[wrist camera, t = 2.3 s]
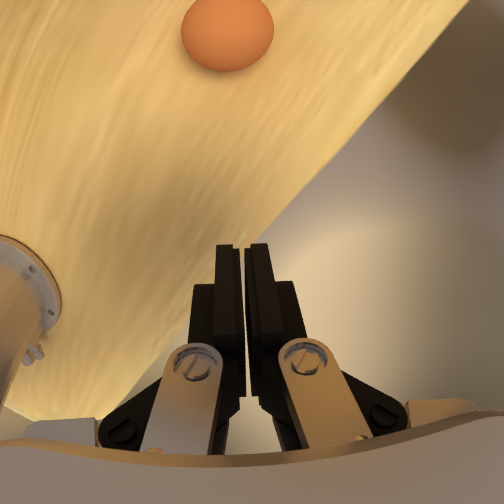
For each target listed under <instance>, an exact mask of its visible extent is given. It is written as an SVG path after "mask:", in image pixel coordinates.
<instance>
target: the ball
mask: <svg viewBox="0 0 504 504" xmlns="http://www.w3.org/2000/svg"><path fill="white" fill-rule="evenodd" d="M181 34H182V40H183V43H184V46H185V48H186V50H187V51H188V53H189V54H190V55H191V57H192V58H193V59H195V60H196V61H197V62H198V63H200V64H201V65H203V66H205V67H208V68H210V69H214V70H219V71H234V70H239V69H242V68H245V67H248V66H250V65H252V64H253V63H255V62H256V61H258V60H259V59H260V58H261V57H262V56H263V55H264V54H265V52H266V51H267V50H268V48H269V46H270V44H271V42H272V39H273V34H274V24H273V19H272V17H271V14H270V12H269V10H268V9H267V7H266V6H265V5H264V4H263V3H262V2H261V1H260V0H197V1H195V2H194V3H193V4H192V5H191V7H190V8H189V9H188V11H187V13H186V14H185V16H184V19H183V22H182V28H181Z"/></svg>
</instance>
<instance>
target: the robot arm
mask: <svg viewBox="0 0 504 504" xmlns="http://www.w3.org/2000/svg"><path fill="white" fill-rule="evenodd" d="M244 258H245V259H244V261H245V316H246V329H247V343H248V355H249V369H250V381H251V393H252V396H258V398H259V405H261V408H262V409H263V410H265V411H266V412H268V413H269V414H271V415H272V419H273V424H274V427H275V430H276V433H277V436H278V440H279V442H280V446H281V449H282V452H274V453H260V454H242V455H225V450H226V443H227V435H228V429H229V418H230V417H232V416H233V415H234V414H235V413H236V412H237V411H238V410H240V403H239V397H246V364H245V363H246V361H245V327H244V314H243V313H244V312H243V298H242V283H241V268H240V252H239V248H238V249H233V244H229V245H216V263H215V284H195V285H194V289H193V297H192V306H191V315H190V325H189V335H188V344H186V345H183V346H181V347H179V348H177V349H176V350H175V351H174V352H173V353H172V354H171V355H170V357H169V359H168V361H167V364H166V367H165V370H164V373H163V376H162V377H161V378H160V379H158V380H157V381H156V382H154V383H153V384H151V385H150V386H149V387H147V388H146V389H144V390H143V391H142V392H140V393H139V394H137V395H136V396H135V397H133V398H131V399H130V400H128V401H127V402H126V403H124V404H123V405H121V406H120V407H118V408H117V409H115V410H114V411H112V412H111V413H109V414H108V415H107V416H106V417H105V418H104V419H102V420H96V419H95V418H94V417H91V418H79V419H64V420H43V421H37V422H34V423H32V424H31V425H29V426H28V427H27V429H26V430H25V432H24V436H23V438H14V439H7V440H2V441H0V504H504V411H500V410H482V411H477V410H476V407H475V406H474V405H473V404H472V403H471V402H470V401H468V400H466V399H460V398H457V399H441V400H408V401H407V403H402V404H401V403H400V402H398V401H397V400H395V399H394V398H392V397H390V396H388V395H386V394H384V393H382V392H381V391H379V390H377V389H375V388H373V387H371V386H369V385H367V384H365V383H363V382H361V381H359V380H358V379H356V378H354V377H353V376H350V375H349V374H347V373H345V372H343V371H342V370H340V368H339V366H338V364H337V362H336V360H335V358H334V356H333V354H332V352H331V351H330V350H329V348H328V347H327V346H326V345H324V344H323V343H322V342H320V341H317V340H315V339H310V338H307V334H306V330H305V326H304V322H303V318H302V314H301V311H300V307H299V303H298V299H297V295H296V292H295V288H294V284H293V282H292V281H278V282H277V281H275V279H274V274H273V270H272V264H271V260H270V255H269V250H268V245H267V243H261V244H260V243H259V244H251V246H250V248H244ZM60 310H61V299H60V295H59V291H58V288H57V286H56V283H55V281H54V279H53V277H52V276H51V274H50V272H49V271H48V269H47V268H46V267H45V265H44V264H43V263H42V262H41V261H40V260H39V259H38V258H37V256H36V255H35V254H34V253H32V252H31V251H30V250H29V249H27V248H26V247H25V246H23V245H22V244H20V243H18V242H17V241H15V240H12V239H10V238H7V237H3V236H0V412H1V410H2V407H3V405H4V402H5V399H6V397H7V394H8V392H9V389H10V387H11V384H12V382H13V379H14V377H15V375H16V372H17V370H18V368H19V365H20V363H21V361H22V363H23V364H24V365H25V366H29V365H31V364H33V362H34V361H35V358H36V359H38V360H40V359H42V358H43V357H44V356H45V353H44V351H43V349H42V348H41V346H40V345H39V343H38V339H39V337H40V335H41V333H42V332H45V331H47V330H49V329H50V328H52V327H53V325H54V324H55V323H56V321H57V319H58V316H59V314H60ZM33 354H34V355H33Z"/></svg>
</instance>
